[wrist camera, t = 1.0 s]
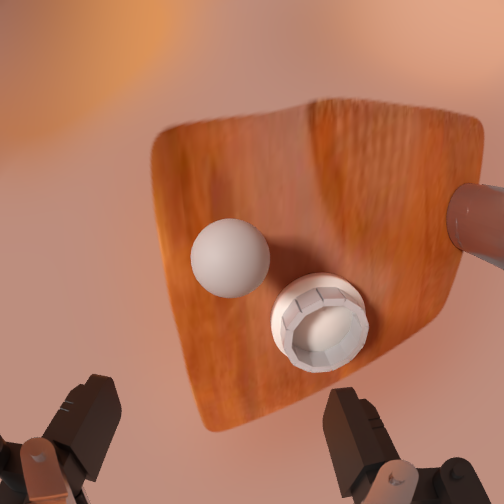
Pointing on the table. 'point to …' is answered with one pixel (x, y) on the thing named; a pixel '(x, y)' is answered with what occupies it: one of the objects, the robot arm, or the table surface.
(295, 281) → the lamp base
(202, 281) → the lightbulb
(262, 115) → the table surface
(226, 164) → the table surface
